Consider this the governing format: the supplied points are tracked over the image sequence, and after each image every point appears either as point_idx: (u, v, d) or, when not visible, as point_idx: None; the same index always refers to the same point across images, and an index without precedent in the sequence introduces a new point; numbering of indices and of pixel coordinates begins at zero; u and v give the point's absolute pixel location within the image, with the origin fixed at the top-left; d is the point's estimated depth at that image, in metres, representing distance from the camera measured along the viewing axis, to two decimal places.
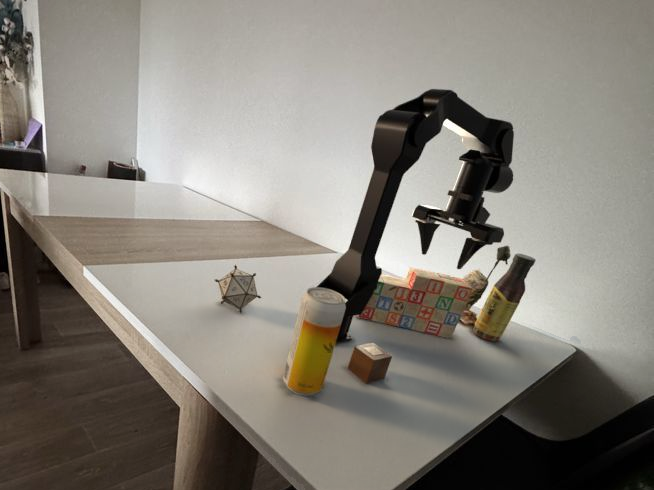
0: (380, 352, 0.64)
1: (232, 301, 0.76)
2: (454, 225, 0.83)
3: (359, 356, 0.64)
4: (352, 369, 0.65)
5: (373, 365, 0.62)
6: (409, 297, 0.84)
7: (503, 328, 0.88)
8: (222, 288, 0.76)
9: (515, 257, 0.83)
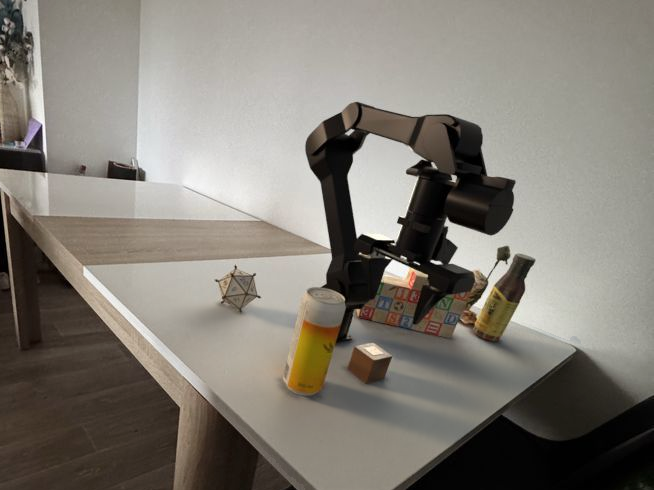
0: (380, 352, 0.64)
1: (232, 301, 0.76)
2: (408, 264, 0.59)
3: (359, 356, 0.64)
4: (352, 369, 0.65)
5: (373, 365, 0.62)
6: (409, 297, 0.84)
7: (503, 328, 0.88)
8: (222, 288, 0.76)
9: (515, 257, 0.83)
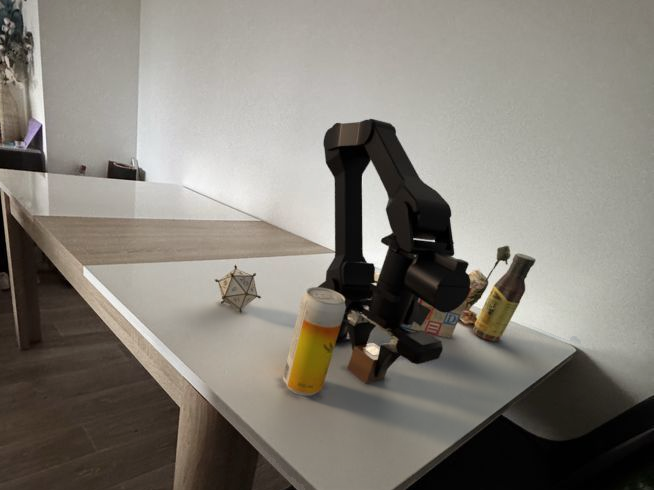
0: None
1: (232, 301, 0.76)
2: None
3: (359, 356, 0.64)
4: (352, 369, 0.65)
5: (373, 365, 0.62)
6: None
7: (503, 328, 0.88)
8: (222, 288, 0.76)
9: (515, 257, 0.83)
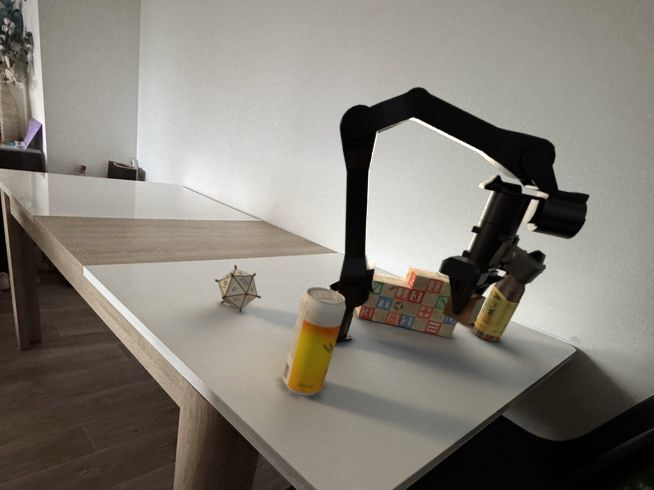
0: (472, 296, 0.67)
1: (232, 301, 0.76)
2: None
3: None
4: None
5: (450, 295, 0.68)
6: (409, 297, 0.84)
7: (503, 328, 0.88)
8: (222, 288, 0.76)
9: None
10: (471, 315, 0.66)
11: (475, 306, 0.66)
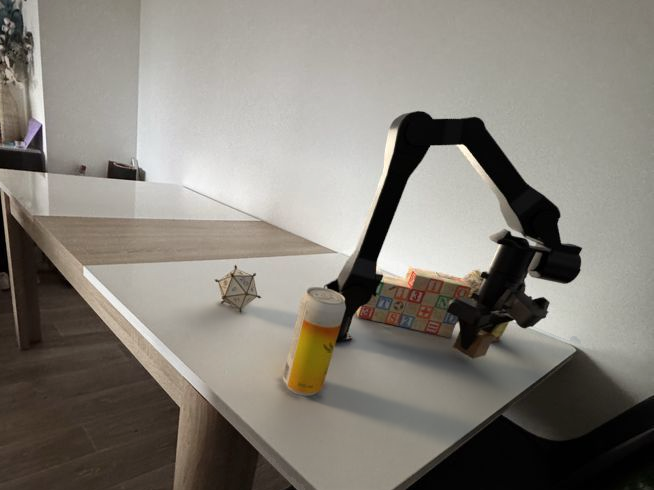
0: (480, 333, 0.74)
1: (232, 301, 0.76)
2: None
3: None
4: None
5: None
6: (409, 297, 0.84)
7: (503, 328, 0.88)
8: (222, 288, 0.76)
9: None
10: (478, 350, 0.73)
11: (481, 343, 0.73)
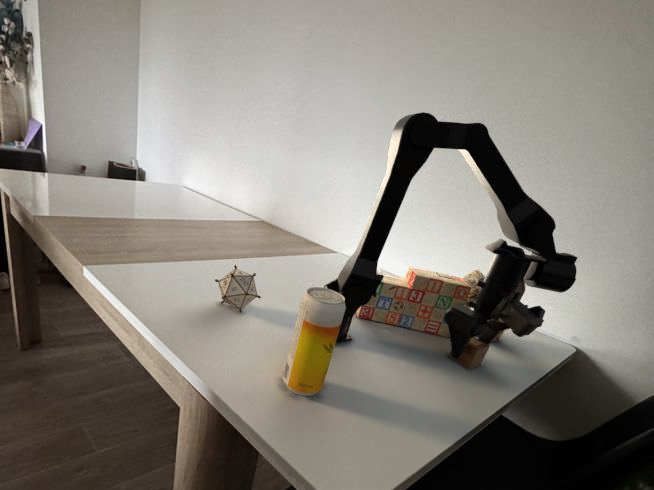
0: (475, 344, 0.75)
1: (232, 301, 0.76)
2: None
3: None
4: None
5: None
6: (409, 297, 0.84)
7: None
8: (222, 288, 0.76)
9: None
10: (473, 361, 0.74)
11: (477, 353, 0.74)
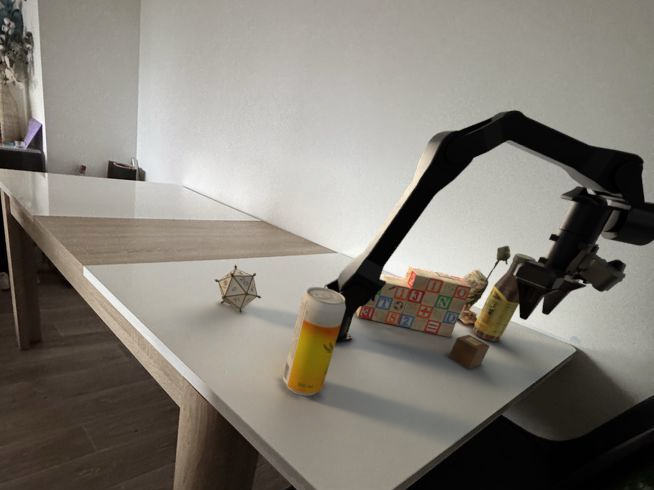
0: (475, 344, 0.75)
1: (232, 301, 0.76)
2: None
3: None
4: None
5: (456, 341, 0.76)
6: (409, 297, 0.84)
7: (503, 328, 0.88)
8: (222, 288, 0.76)
9: (515, 257, 0.83)
10: (473, 361, 0.74)
11: (477, 353, 0.74)
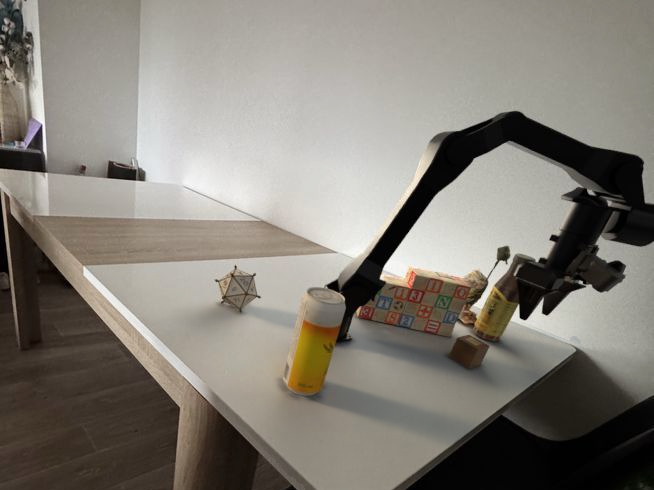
0: (475, 343, 0.75)
1: (232, 301, 0.76)
2: None
3: None
4: None
5: (456, 341, 0.76)
6: (409, 297, 0.84)
7: (503, 328, 0.88)
8: (222, 288, 0.76)
9: (515, 257, 0.83)
10: (473, 361, 0.74)
11: (477, 353, 0.74)
